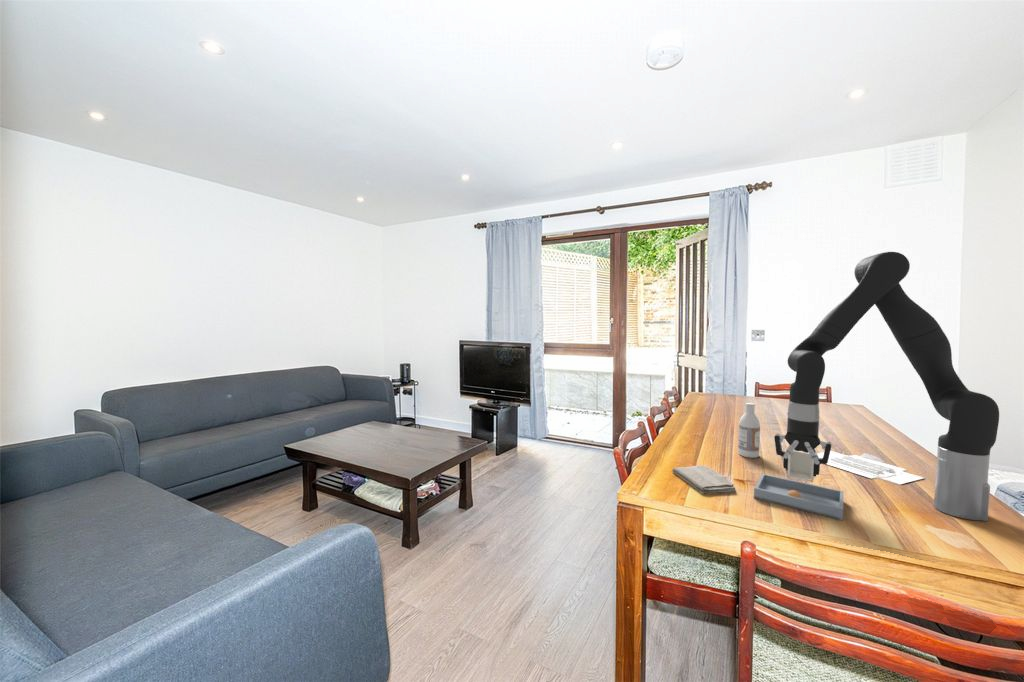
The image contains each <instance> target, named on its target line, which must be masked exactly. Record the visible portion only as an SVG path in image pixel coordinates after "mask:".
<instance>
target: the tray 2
mask: <svg viewBox="0 0 1024 682" xmlns="http://www.w3.org/2000/svg"><path fill="white" fill-rule="evenodd" d="M816 453H817V452H816ZM817 455H818V457H819V458H823V455H824V451H823V452H818V453H817ZM826 465H828V466H831V467H835V468H838V469H841V470H844V471H847V472H850V473H852V474H856V475H859V476H863V477H865V478H868V479H870V480H874V479H875V480H876V479H879V480H884V481H886V482H889V483H893V484H896V485H899V486H901V485H904V484H906V483H910V482H914V481H919V480H923V479H926V477H923V476H920V475H915V474H912V473H909V472H907V471H908V469H906V468H903V467H899V466H895V465H892V464H889V463H885V461H884V460H883V459H880V458H879V457H878V456H876V455H872V454H871V453H866V452H863V453H860V455H857V454H853V455H846V454H843V453H839V452H837V451H833V450H830V455H829V459H828V463H827V464H826Z"/></svg>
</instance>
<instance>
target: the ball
mask: <svg viewBox="0 0 1024 682" xmlns="http://www.w3.org/2000/svg"><path fill="white" fill-rule="evenodd" d="M788 495H789V496H794V497H798V498H801V494H800V493H799V492H798V491H796V490H791V491H789V492H788Z"/></svg>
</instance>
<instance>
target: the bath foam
mask: <svg viewBox="0 0 1024 682" xmlns="http://www.w3.org/2000/svg"><path fill="white" fill-rule="evenodd" d="M755 406H756V404H755V403H753V402H746V403H745V412H744V413H743V415H742V416H741V417H740V419H739V422H738V435H737V436H738V439H737V440H738V443H737V453H738V454H739V455H740V456H742V457H744V458H751V459H753V458H754V459H755V458H758V457H759V456H760V443H761V440H760V439H761V438H760V437H761V425H760V424H761V423H760V419H759V418H758V416H757V415H756V414H755V411H756V410H755V409H756V408H755Z"/></svg>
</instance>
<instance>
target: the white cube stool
mask: <svg viewBox="0 0 1024 682" xmlns="http://www.w3.org/2000/svg"><path fill="white" fill-rule="evenodd" d="M813 471H814V458H812V457H811V456H810V454H809V452H808V453H806V452H803V451H795V450H793V452H792V453H791V454H789V455H788V471H787V477H788V478H792V479H796V480H800V481H806V482H810V483H813V481H814V477H815V476H813ZM787 477H786V478H787Z"/></svg>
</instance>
